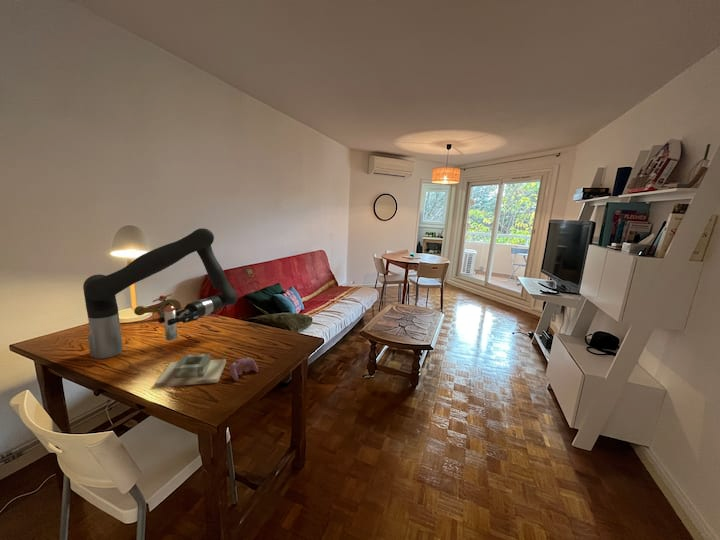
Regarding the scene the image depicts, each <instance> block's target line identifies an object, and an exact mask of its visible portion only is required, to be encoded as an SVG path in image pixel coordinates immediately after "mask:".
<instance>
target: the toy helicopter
mask: <svg viewBox="0 0 720 540" xmlns="http://www.w3.org/2000/svg"><path fill="white" fill-rule="evenodd" d="M172 295H173V294H172V293H170V294H166V295H159V296H158V298H156V299H154V300H153V301H152V303H154V302H157V301H158V302H159V303H158V304H156V305H152V306H143V305H138V306H136V307H135V308H134V310H133V312H134V315H136V316H143V315H145V314H149V313H157V314H158V315H159V318H161V317H163V316H164V308H165V307H166V306H168V305H172V306H174V307H175V309H176V311H177V310H180V309H182V304H181V302H180V301H179V300H178V299H176V298H168V297H171V296H172ZM167 298H168V299H167ZM176 317H177V316H176Z"/></svg>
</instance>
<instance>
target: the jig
mask: <svg viewBox="0 0 720 540" xmlns="http://www.w3.org/2000/svg"><path fill="white" fill-rule="evenodd" d="M226 363H227V359H226V358H223V359H211V353H198V354H197V353H196V354H182V356H181V357H180V359H179V361H171V362H170V363H169V365H168V366H167V367H166V369H164V371H163V373H162V374H161V375H160V376H159V378H158V379H157V380H156V381H155V384H154V385H155V388H159V387H161V388H163V387H174V386H176V387H177V386H188V385H189V386H191V385H201V384H216V383H218V382H219V381H220V379H221V375H222V374H223V371H224V368H225V366H226Z"/></svg>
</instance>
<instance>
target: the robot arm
mask: <svg viewBox="0 0 720 540" xmlns="http://www.w3.org/2000/svg"><path fill="white" fill-rule="evenodd" d="M214 236H215V235H214V233H213V232H212V231H211V230H209V229H207V228H203V227H202V228H198V229H197V228H196V229H195V230H194V231H193V232H191V233H189V234H188V235H185V237H182V238H181V239H178V240H176V241H173V242H170V243H167V244H164V245H162V246H160V247H157V248H154V249H153V250H152V249H151V250H150V251H147V252H146V253H144V254H141V255H140V256H138V257H137V258H136V259H134V260H132V261H131V262H130V263H129V264H127V265H126V266H125V267H123V268H121V269H118V270H117V271H114V272H112V273H110V274H107V275H105V274H94V275H91V276H89V277H87V278H86V279H85V281H84V282H83V285H82V286H83V295H84V302H85V309H86V313H87V319H88V325H89V326H88V327H89V334H88V335H87V340H88V341H87V342H88V347H89V354H90V358H94V359H108V358H111V357H115V356H117V355H119V354H121V353H122V352H123V350H124V348H123V347H124V346H123V339H122V331H121V322H120V316H119V307H118V303H117V296H116V295H118V294H120V292H123V290H125V289H127V288H129V287H130V286H132V285H135V284H136V283H138V282H140V281H142V280H145V279H147V278H149V277H151V276H153V275H155V274H157V273H160V272H161V271H163V270H166V269H167V268H169V267H171V266H172V265H174V264H176V263H177V262H179V261H181V260H182V259H184V258H185V257H186V256H188V255H190V254H192V253H193V254H194V252H197V253H196V254H198V256H199V258H200V260H201V262H202V264H203V266H204V268H205V271H206V275H207V276H208V278H209V281H210V283H211V285H212V288H214V290H220V291H221V292H219V293H216V294H214V295H212V296H209V297H205V298H202V299H198V300H196V301H195V300H194V301H193V302H189V303H186V305H185V306H184V308H181V309H180V310H177V311H176V316H177V317H175V318H172V319H169V320H168V321H167V323H168V325H173V324H175V323H177V324H178V323H179V324H180V323H182V324H186V323H190V322H193V321H198V320H199V319H200V318H202V317H205V316H207V315H209V314H211V313H213V312H216V311H218V310H219V309H221V308H223V307H227V306H231V305H235V304H236V303H237V301H238V293H237V292H236V290H235V289H234V287H232V285H231V284H230V283H229V281H228V279H227V276H226V274H225V271H224V270H223V268H222V266H221V264H220V262H218V260H217V258H216V256H215V254H214V251H213V248H212V244H213V243H214V240H215V237H214ZM158 324H165V323H164V316H163V317H161V318H160V317H159V318H158Z"/></svg>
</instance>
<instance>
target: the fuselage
mask: <svg viewBox="0 0 720 540" xmlns="http://www.w3.org/2000/svg"><path fill="white" fill-rule="evenodd" d="M172 305H173V304H172ZM172 305H168V306H166V307H165V306H164V307H165V308H164V323H163V324H164V334H165V335H164V336H165V340H166V341H174V340H177V339H178V325H177V324H178V323H175V324H173V325H168V323H167V321H168V320H169V319H172V318H175V317H176V309H175V307H174V305H173V306H172Z"/></svg>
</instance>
